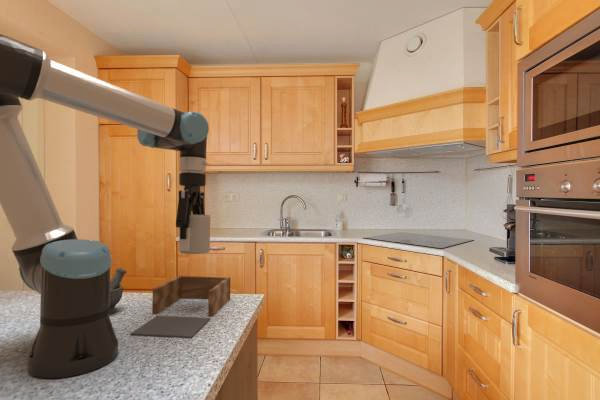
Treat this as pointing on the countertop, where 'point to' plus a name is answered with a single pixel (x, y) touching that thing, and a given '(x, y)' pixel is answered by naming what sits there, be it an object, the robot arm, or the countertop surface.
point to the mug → (199, 234)
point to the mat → (171, 326)
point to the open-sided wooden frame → (192, 292)
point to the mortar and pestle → (116, 289)
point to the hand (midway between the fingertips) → (190, 248)
